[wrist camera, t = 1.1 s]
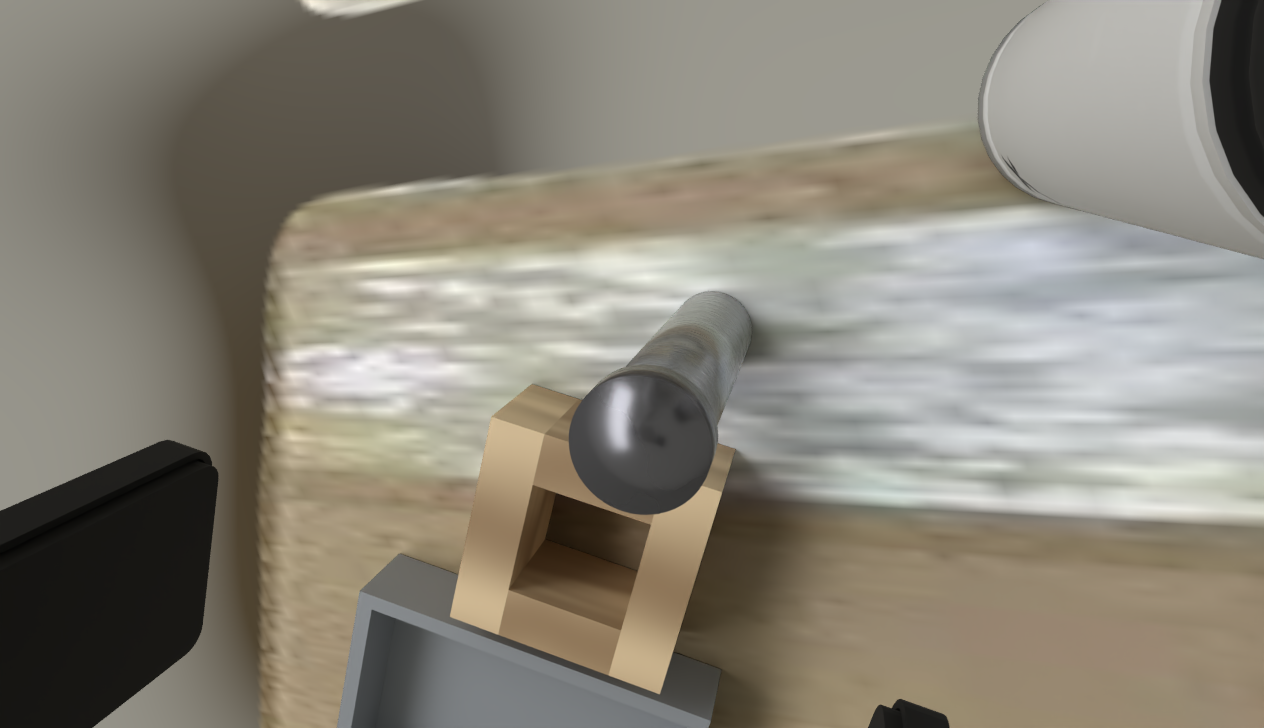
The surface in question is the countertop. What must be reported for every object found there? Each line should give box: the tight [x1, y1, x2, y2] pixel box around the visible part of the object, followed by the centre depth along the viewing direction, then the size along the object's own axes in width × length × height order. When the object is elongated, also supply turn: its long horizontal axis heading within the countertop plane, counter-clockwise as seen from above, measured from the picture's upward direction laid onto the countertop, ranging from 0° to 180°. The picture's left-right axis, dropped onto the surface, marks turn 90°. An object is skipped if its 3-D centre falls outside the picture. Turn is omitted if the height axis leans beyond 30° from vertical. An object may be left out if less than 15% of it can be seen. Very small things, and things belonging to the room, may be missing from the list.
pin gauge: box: [569, 291, 752, 515], centre depth 24 cm, size 3×3×12 cm
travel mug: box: [978, 0, 1264, 259], centre depth 16 cm, size 6×7×20 cm
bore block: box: [450, 384, 736, 694], centre depth 30 cm, size 8×8×4 cm
